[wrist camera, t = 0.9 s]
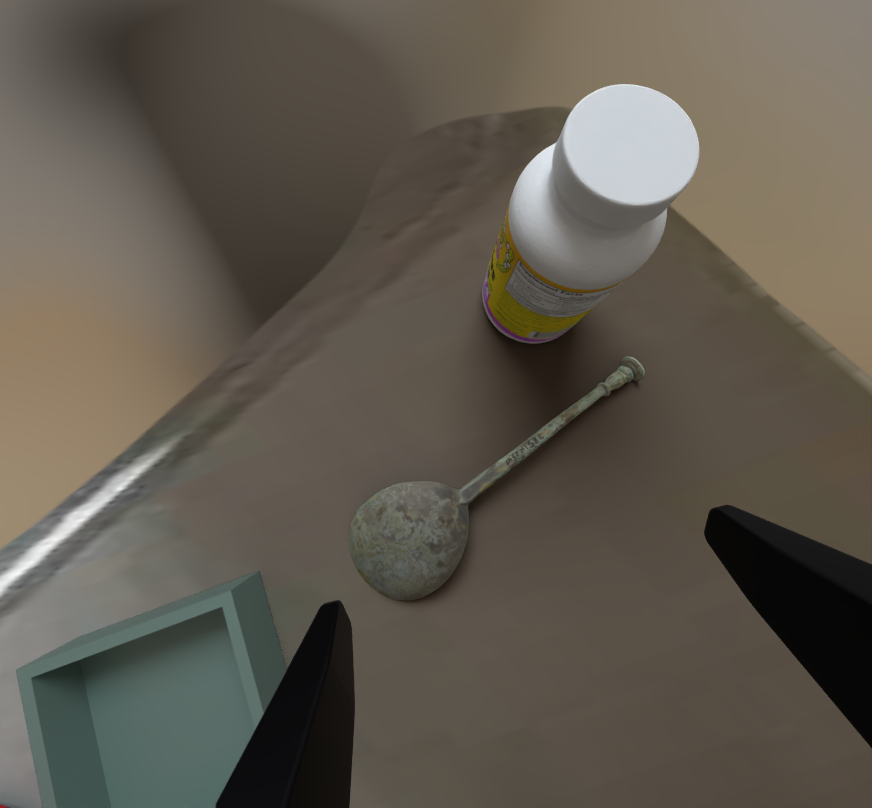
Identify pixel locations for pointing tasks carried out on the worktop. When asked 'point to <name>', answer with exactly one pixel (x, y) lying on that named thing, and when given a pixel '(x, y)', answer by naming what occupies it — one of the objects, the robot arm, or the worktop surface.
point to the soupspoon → (441, 514)
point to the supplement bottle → (588, 211)
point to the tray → (154, 702)
